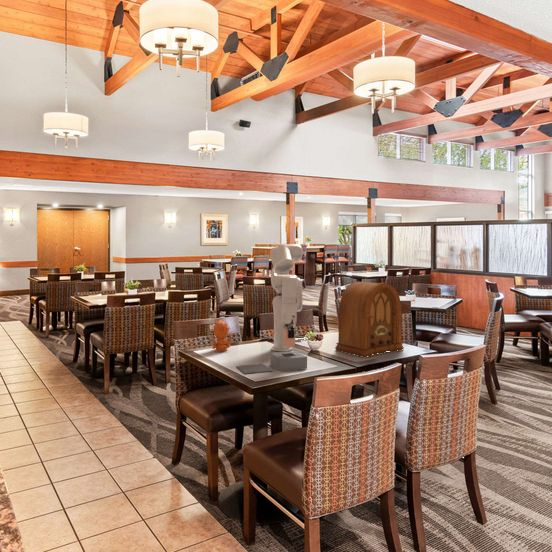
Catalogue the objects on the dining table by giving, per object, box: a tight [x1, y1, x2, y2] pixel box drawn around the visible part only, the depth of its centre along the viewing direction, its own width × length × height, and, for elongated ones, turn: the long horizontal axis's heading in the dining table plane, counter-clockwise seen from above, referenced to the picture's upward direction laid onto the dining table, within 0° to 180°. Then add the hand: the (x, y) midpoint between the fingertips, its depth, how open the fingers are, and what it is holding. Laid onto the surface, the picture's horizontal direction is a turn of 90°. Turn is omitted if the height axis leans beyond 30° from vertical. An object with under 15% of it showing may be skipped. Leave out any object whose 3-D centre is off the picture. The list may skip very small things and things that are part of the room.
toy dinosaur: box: [211, 319, 232, 352], centre depth 277 cm, size 11×11×18 cm
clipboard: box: [263, 334, 305, 343], centre depth 314 cm, size 19×2×30 cm
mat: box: [236, 363, 273, 375], centre depth 235 cm, size 14×14×1 cm
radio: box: [334, 281, 405, 358], centre depth 278 cm, size 33×23×40 cm
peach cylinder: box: [283, 325, 296, 348], centre depth 240 cm, size 5×5×10 cm
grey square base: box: [270, 350, 308, 372], centre depth 241 cm, size 14×14×6 cm
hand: (289, 336), depth 240 cm, fingers closed on peach cylinder, 4 cm apart
